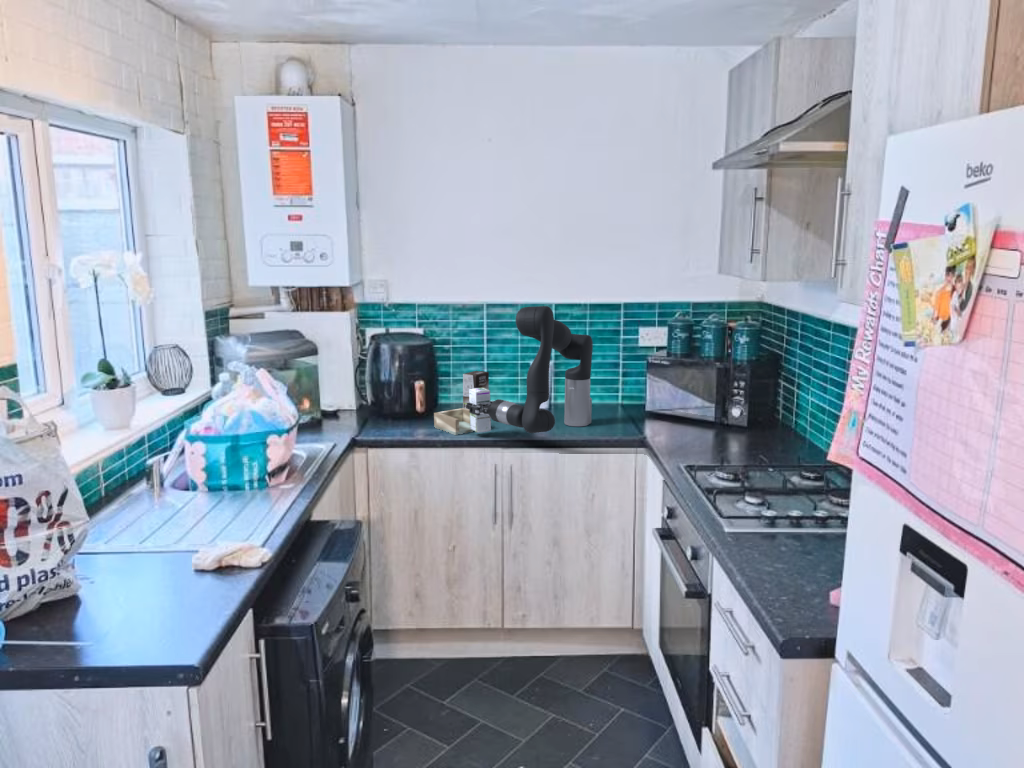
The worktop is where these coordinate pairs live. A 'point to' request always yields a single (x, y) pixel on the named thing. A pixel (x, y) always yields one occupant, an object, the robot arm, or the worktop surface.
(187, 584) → the worktop surface
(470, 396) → the syrup box
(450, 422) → the cubby
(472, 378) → the coffee box
